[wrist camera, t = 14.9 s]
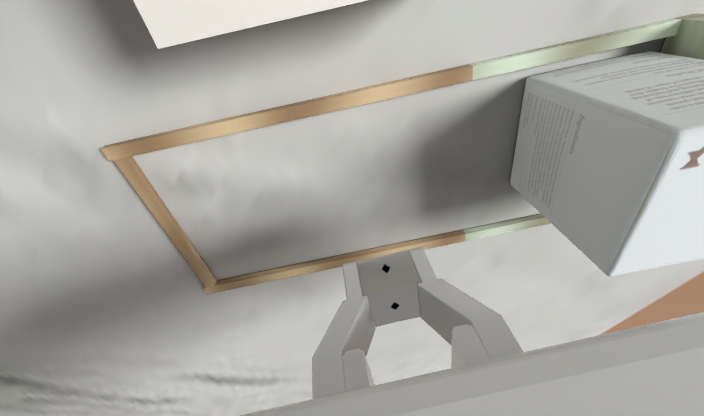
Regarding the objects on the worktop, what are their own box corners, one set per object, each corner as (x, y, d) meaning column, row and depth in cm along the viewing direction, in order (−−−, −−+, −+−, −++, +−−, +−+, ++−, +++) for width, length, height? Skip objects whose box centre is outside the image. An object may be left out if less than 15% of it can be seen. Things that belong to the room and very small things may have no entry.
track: (209, 289, 20) (197, 320, 18) (105, 145, 14) (70, 169, 12) (618, 204, 19) (652, 228, 17) (696, 13, 13) (763, 16, 11)
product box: (505, 184, 17) (603, 281, 11) (522, 73, 14) (678, 129, 8) (610, 164, 17) (765, 251, 11) (654, 47, 14) (913, 84, 8)
